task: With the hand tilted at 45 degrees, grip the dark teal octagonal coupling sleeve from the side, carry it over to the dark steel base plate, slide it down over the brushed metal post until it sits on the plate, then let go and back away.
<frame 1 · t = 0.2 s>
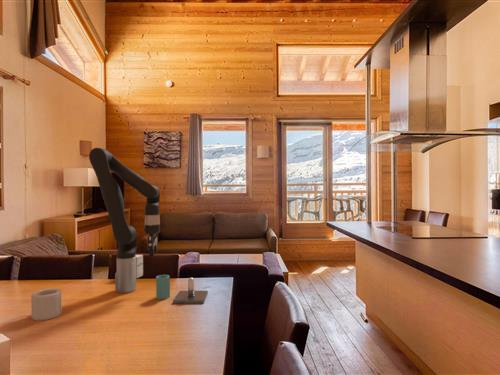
hand: (153, 255, 172), 18 cm above the table, tool pointing down, fingers open, 8 cm apart
post base: (191, 298, 159), on the table
mug: (44, 315, 140), on the table
coupling sleeve: (163, 297, 161), on the table
supplement box: (134, 277, 199), on the table
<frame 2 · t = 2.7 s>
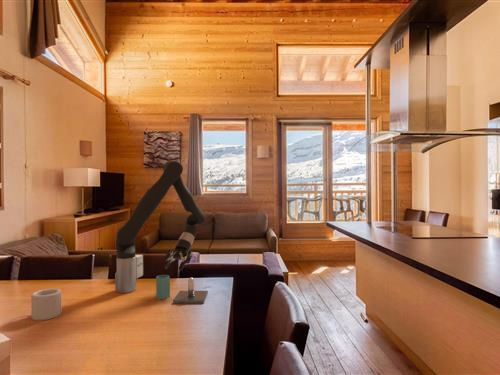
hand: (172, 268, 169), 12 cm above the table, tool tilted 45°, fingers open, 8 cm apart
nothing on the table moved.
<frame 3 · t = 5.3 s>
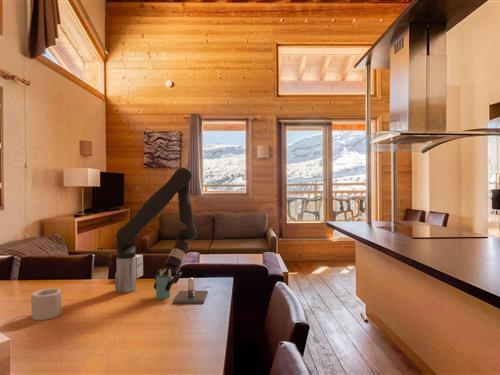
hand: (160, 289, 160), 4 cm above the table, tool tilted 45°, fingers closed on coupling sleeve, 6 cm apart
coupling sleeve: (163, 297, 161), on the table, touching gripper
everything else where it was.
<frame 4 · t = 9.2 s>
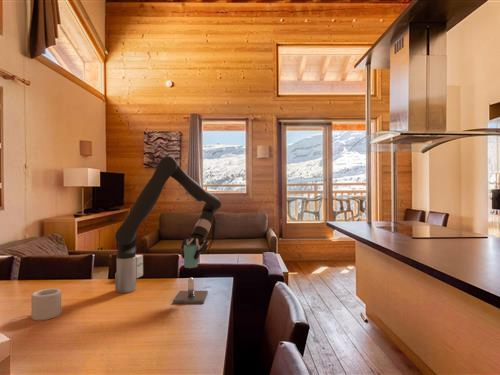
hand: (188, 258, 158), 20 cm above the table, tool tilted 45°, fingers closed on coupling sleeve, 6 cm apart
coupling sleeve: (190, 266, 159), point 15 cm above the table, touching gripper
everything else where it was.
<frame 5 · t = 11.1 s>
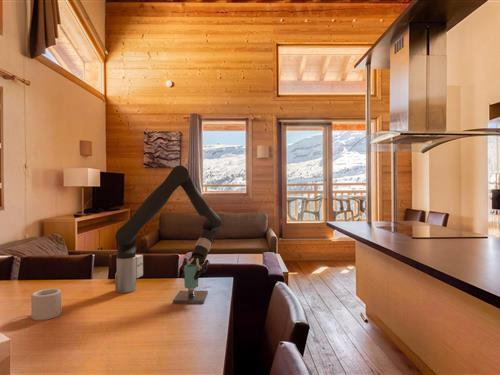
hand: (189, 278, 158), 10 cm above the table, tool tilted 45°, fingers closed on coupling sleeve, 6 cm apart
coupling sleeve: (191, 286, 159), point 6 cm above the table, touching gripper
everything else where it was.
when the fingers open (7 cm above the table, at t = 13.0 s): coupling sleeve stays where it is, resting on post base.
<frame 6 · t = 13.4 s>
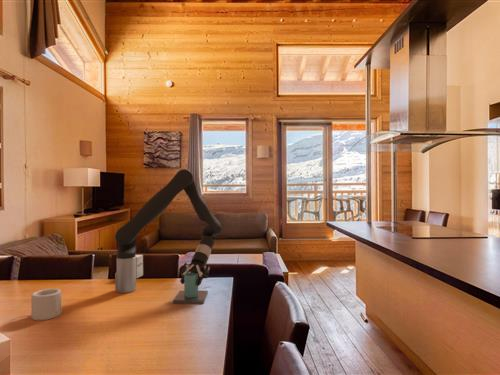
hand: (189, 284, 158), 7 cm above the table, tool tilted 45°, fingers open, 8 cm apart
coupling sleeve: (191, 295, 159), point 1 cm above the table, touching post base
everything else where it was.
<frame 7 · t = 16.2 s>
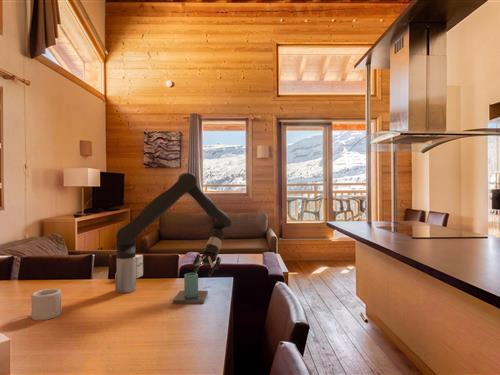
hand: (202, 274, 171), 8 cm above the table, tool tilted 40°, fingers open, 8 cm apart
nothing on the table moved.
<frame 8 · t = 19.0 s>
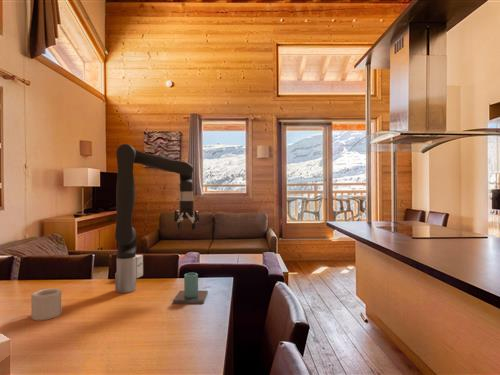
hand: (186, 229, 180), 30 cm above the table, tool pointing down, fingers open, 8 cm apart
nothing on the table moved.
at the end: coupling sleeve 0.1 cm off-centre on the post base, point 1.5 cm above the post base's base; coupling sleeve tilted 0°; the gripper is holding nothing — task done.
